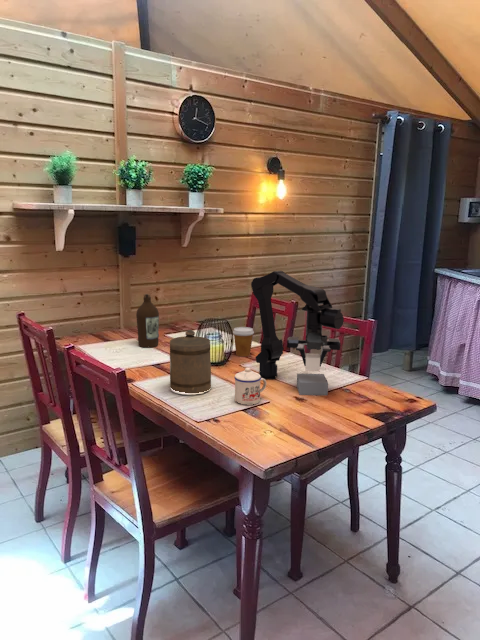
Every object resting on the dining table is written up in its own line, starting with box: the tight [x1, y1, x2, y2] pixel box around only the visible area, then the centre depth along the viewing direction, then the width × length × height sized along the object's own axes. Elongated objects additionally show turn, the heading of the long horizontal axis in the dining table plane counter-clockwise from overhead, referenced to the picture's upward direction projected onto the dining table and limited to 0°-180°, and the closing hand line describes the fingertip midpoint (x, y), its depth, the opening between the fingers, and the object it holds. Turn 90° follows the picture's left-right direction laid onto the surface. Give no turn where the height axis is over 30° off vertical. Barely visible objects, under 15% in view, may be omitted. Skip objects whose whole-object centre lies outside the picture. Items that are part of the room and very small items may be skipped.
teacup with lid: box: [234, 367, 267, 406], centre depth 170 cm, size 12×9×12 cm
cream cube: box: [304, 352, 321, 372], centre depth 179 cm, size 5×5×5 cm
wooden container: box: [169, 329, 212, 393], centre depth 180 cm, size 15×15×22 cm
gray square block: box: [296, 372, 329, 396], centre depth 181 cm, size 10×10×5 cm
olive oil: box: [135, 293, 160, 349], centre depth 237 cm, size 11×11×25 cm
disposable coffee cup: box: [232, 326, 255, 358], centre depth 225 cm, size 10×10×12 cm
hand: (312, 366), depth 180 cm, fingers closed on cream cube, 5 cm apart
